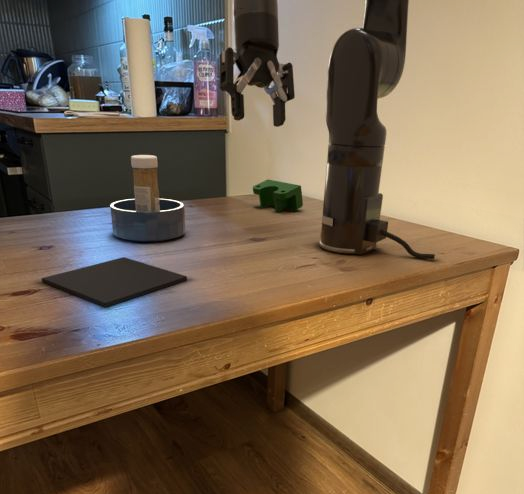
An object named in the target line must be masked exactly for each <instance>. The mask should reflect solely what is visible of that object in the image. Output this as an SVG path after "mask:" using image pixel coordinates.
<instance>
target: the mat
mask: <svg viewBox="0 0 524 494" xmlns="http://www.w3.org/2000/svg"><path fill="white" fill-rule="evenodd" d="M185 281H188V276H187V275H185V274H180V273H177V272H175V271H171V270H167V269H164V268H160V267H157V266H154V265H151V264H148V263H144V262H141V261H138V260H135V259H131V258H128V257H124V256H123V257H119V258H115V259H111V260H108V261H103V262H99V263H96V264H92V265H88V266H83V267H79V268H75V269H73V270H67V271H64V272H60V273H57V274H56V273H55V274H53V275H49V276H44V277H41V282H42V283H44V284H46V285H48V286H52V287H54V288H55V289H58V290H61V291H64V292H66V293H68V294H71V295H74V296H77V297H79V298H81V299H84V300H86V301H89V302H91V303H93V304H96V305H98V306H101V307H103V308H109V307H111V306H115V305H117V304H120V303H122V302H126V301H128V300H129V301H130V300H131V299H134V298H138V297H141V296H144V295H147V294H150V293H153V292H156V291H158V290H162V289H165V288H167V287H171V286H174V285H176V284H181V283H183V282H185Z"/></svg>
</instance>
